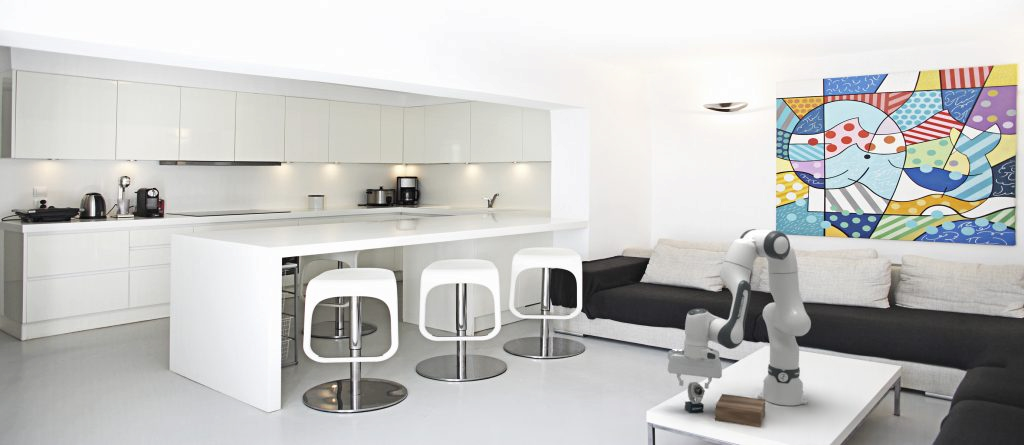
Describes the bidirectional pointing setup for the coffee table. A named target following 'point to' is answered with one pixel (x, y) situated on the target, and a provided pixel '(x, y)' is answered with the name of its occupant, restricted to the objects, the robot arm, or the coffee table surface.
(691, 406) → the watch
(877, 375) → the coffee table surface
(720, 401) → the walnut box
